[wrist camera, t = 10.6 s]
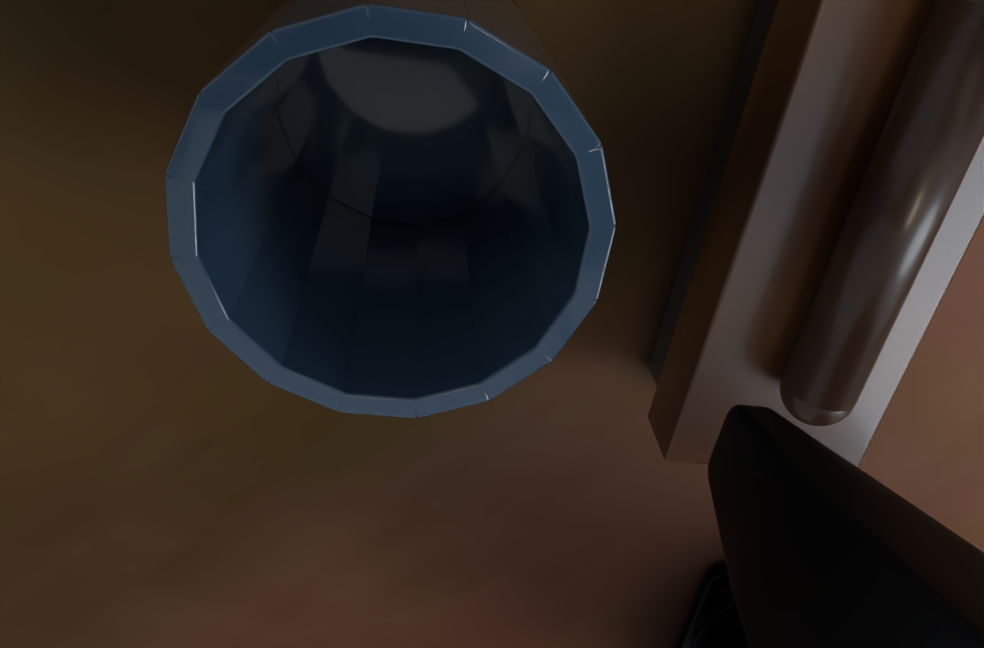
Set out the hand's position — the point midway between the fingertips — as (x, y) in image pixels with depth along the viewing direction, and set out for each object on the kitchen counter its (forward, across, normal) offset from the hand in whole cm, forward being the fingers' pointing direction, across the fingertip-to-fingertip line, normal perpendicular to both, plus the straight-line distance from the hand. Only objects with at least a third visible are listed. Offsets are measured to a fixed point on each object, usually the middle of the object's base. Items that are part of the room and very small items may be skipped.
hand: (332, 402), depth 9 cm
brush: (+11, -10, 0) cm, 15 cm away
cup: (+11, 0, 0) cm, 11 cm away
